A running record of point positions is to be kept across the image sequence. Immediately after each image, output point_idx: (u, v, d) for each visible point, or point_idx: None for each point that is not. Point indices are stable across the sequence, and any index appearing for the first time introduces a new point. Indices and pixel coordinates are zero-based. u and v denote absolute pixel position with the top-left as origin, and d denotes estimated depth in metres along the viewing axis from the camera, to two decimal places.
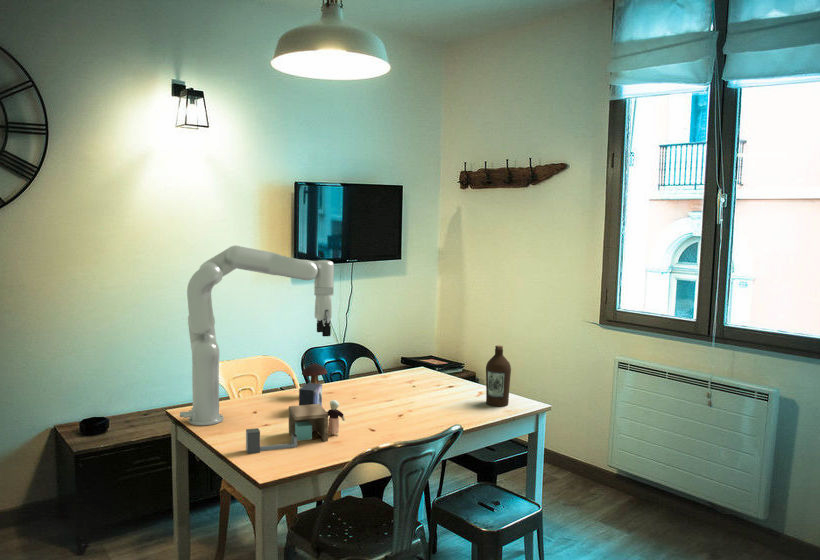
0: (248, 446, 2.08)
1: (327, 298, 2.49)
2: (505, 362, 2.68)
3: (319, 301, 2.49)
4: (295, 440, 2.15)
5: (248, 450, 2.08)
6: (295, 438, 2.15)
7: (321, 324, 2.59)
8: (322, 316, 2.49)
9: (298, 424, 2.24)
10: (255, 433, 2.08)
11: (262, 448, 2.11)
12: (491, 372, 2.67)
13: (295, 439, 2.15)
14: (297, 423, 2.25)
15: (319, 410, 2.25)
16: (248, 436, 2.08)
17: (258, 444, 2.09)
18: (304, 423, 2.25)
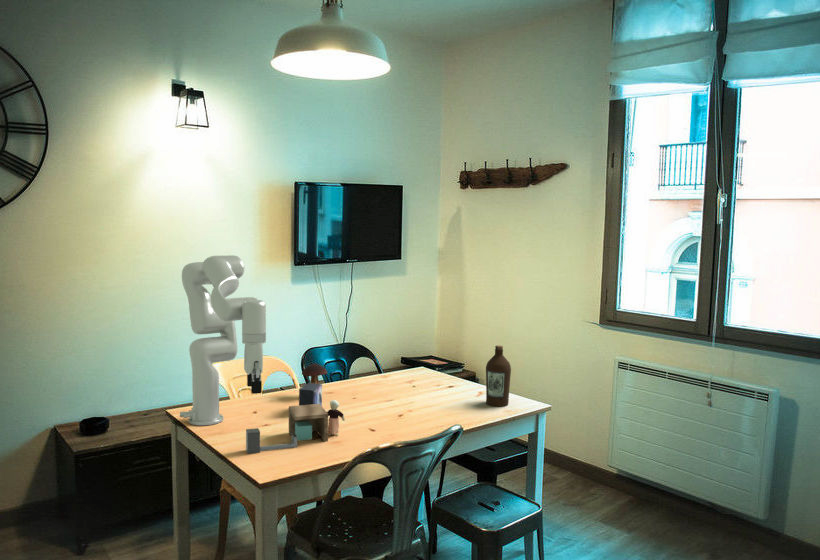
0: (248, 446, 2.08)
1: (256, 347, 2.04)
2: (505, 362, 2.68)
3: (247, 351, 2.04)
4: (295, 440, 2.15)
5: (248, 450, 2.08)
6: (295, 438, 2.15)
7: None
8: (251, 369, 2.03)
9: (298, 424, 2.24)
10: (255, 433, 2.08)
11: (262, 448, 2.11)
12: (491, 372, 2.67)
13: (295, 439, 2.15)
14: (297, 423, 2.25)
15: (319, 410, 2.25)
16: (248, 436, 2.08)
17: (258, 444, 2.09)
18: (304, 423, 2.25)
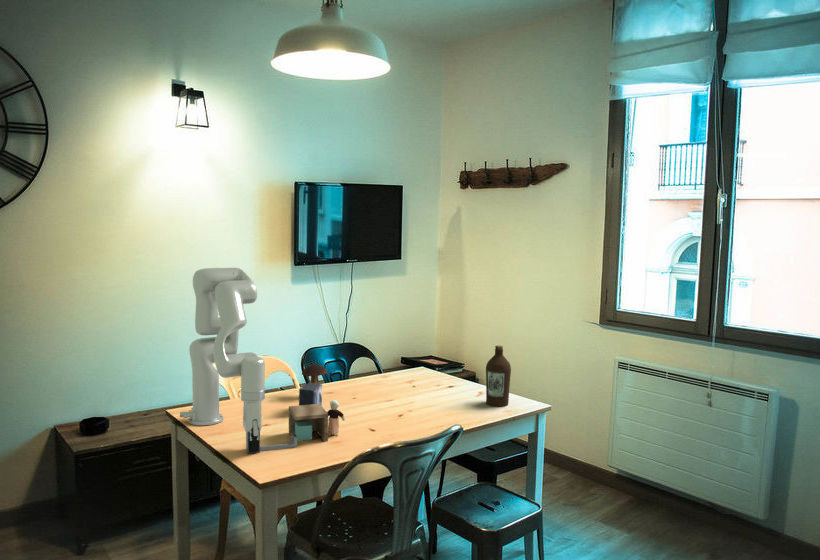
0: (248, 446, 2.08)
1: (255, 405, 2.05)
2: (505, 362, 2.68)
3: (246, 409, 2.05)
4: (295, 440, 2.15)
5: (248, 450, 2.08)
6: (295, 438, 2.15)
7: None
8: (249, 427, 2.04)
9: (298, 424, 2.24)
10: None
11: (262, 448, 2.11)
12: (491, 372, 2.67)
13: (295, 439, 2.15)
14: (297, 423, 2.25)
15: (319, 410, 2.25)
16: (248, 436, 2.08)
17: None
18: (304, 423, 2.25)
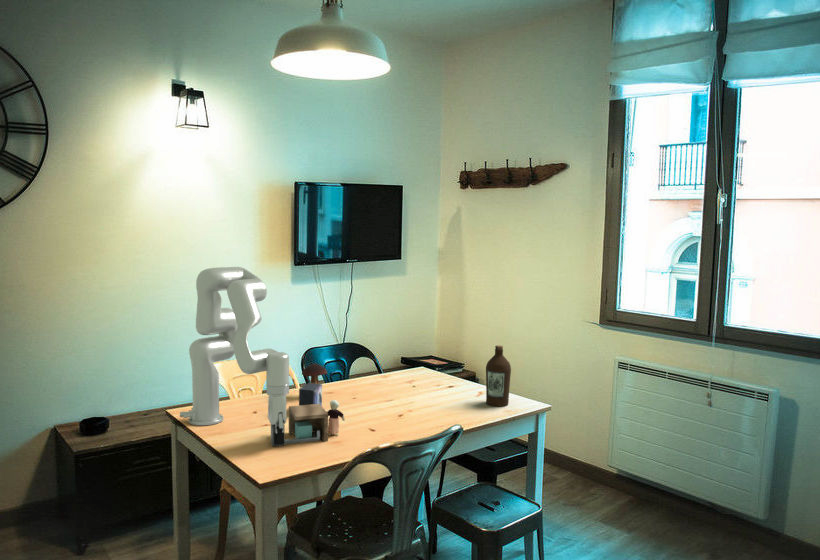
0: (273, 439, 2.15)
1: (280, 399, 2.12)
2: (505, 362, 2.68)
3: (271, 402, 2.12)
4: (318, 433, 2.22)
5: (273, 443, 2.15)
6: (318, 431, 2.22)
7: None
8: (275, 420, 2.11)
9: (298, 424, 2.24)
10: None
11: (286, 441, 2.18)
12: (491, 372, 2.67)
13: (318, 433, 2.22)
14: (297, 423, 2.25)
15: (319, 410, 2.25)
16: (273, 429, 2.15)
17: None
18: (304, 423, 2.25)
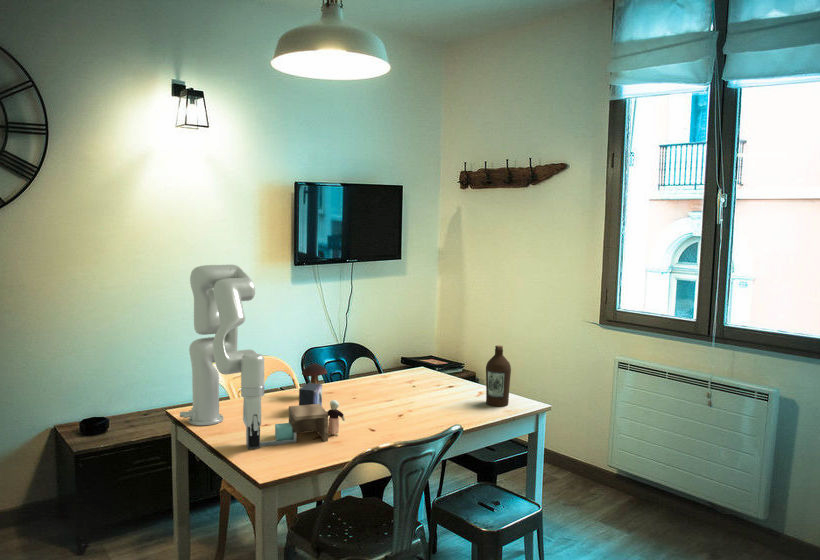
0: (248, 441, 2.12)
1: (255, 401, 2.09)
2: (505, 362, 2.68)
3: (246, 404, 2.09)
4: (294, 436, 2.19)
5: (248, 445, 2.12)
6: (294, 434, 2.19)
7: None
8: (249, 422, 2.08)
9: (278, 426, 2.21)
10: None
11: (262, 443, 2.15)
12: (491, 372, 2.67)
13: (294, 435, 2.19)
14: (277, 425, 2.22)
15: (319, 410, 2.25)
16: (249, 431, 2.12)
17: None
18: (284, 425, 2.22)
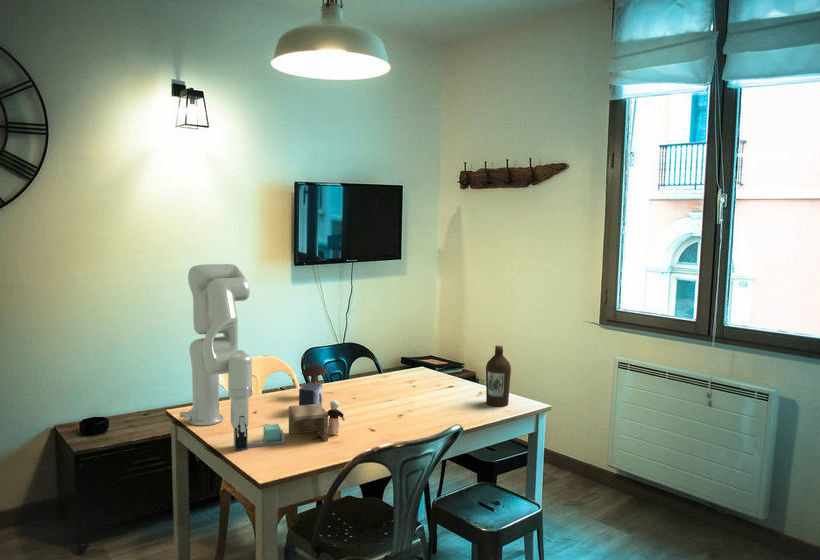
0: None
1: (242, 402, 2.08)
2: (505, 362, 2.68)
3: (233, 405, 2.08)
4: (282, 437, 2.17)
5: None
6: (282, 435, 2.17)
7: None
8: (236, 424, 2.07)
9: (266, 427, 2.20)
10: None
11: (250, 444, 2.14)
12: (491, 372, 2.67)
13: (283, 436, 2.17)
14: (265, 426, 2.21)
15: (319, 410, 2.25)
16: (236, 433, 2.10)
17: None
18: (273, 426, 2.21)
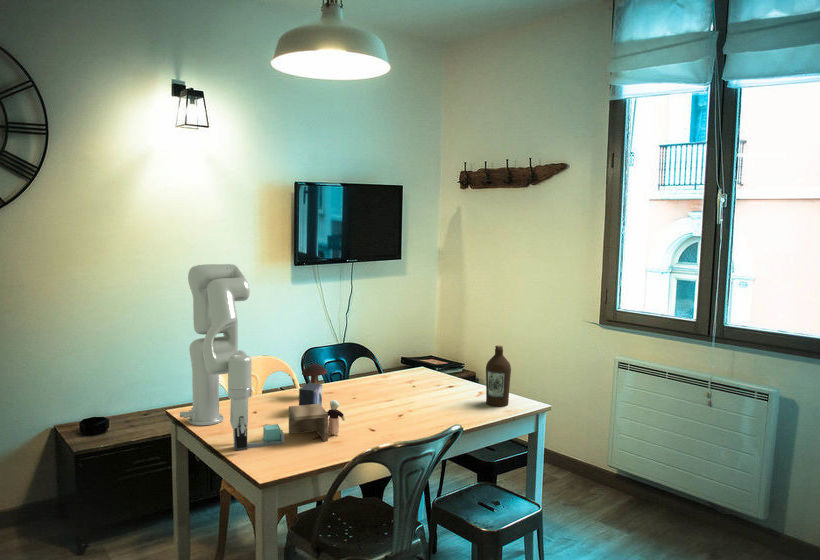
0: (235, 443, 2.10)
1: (241, 402, 2.08)
2: (505, 362, 2.68)
3: (232, 406, 2.08)
4: (282, 437, 2.17)
5: (235, 447, 2.11)
6: (282, 435, 2.17)
7: None
8: (236, 424, 2.07)
9: (266, 427, 2.20)
10: None
11: (249, 445, 2.14)
12: (491, 372, 2.67)
13: (282, 436, 2.17)
14: (265, 426, 2.21)
15: (319, 410, 2.25)
16: (236, 433, 2.10)
17: None
18: (272, 426, 2.21)
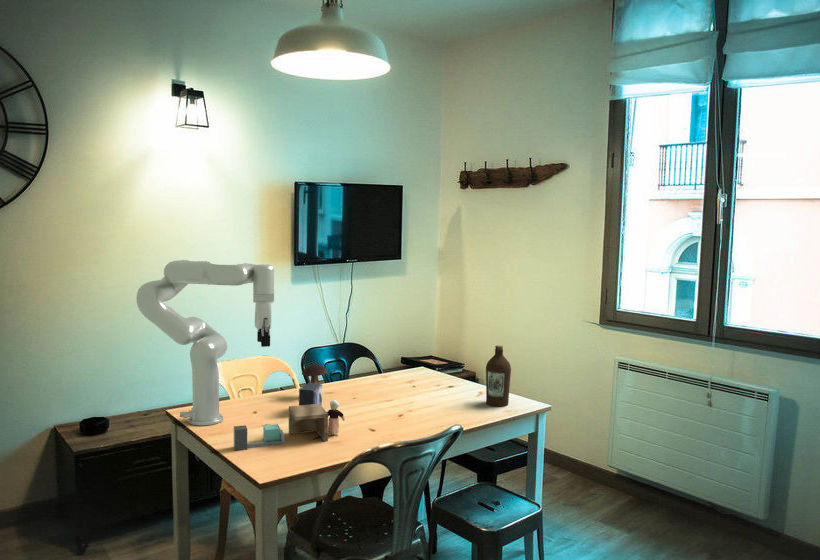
0: (235, 443, 2.10)
1: (266, 306, 2.31)
2: (505, 362, 2.68)
3: (257, 309, 2.31)
4: (282, 437, 2.17)
5: (235, 447, 2.11)
6: (282, 435, 2.17)
7: (262, 333, 2.40)
8: (260, 325, 2.31)
9: (266, 427, 2.20)
10: (242, 430, 2.11)
11: (249, 445, 2.14)
12: (491, 372, 2.67)
13: (282, 436, 2.17)
14: (265, 426, 2.21)
15: (319, 410, 2.25)
16: (236, 433, 2.10)
17: (245, 441, 2.12)
18: (272, 426, 2.21)
